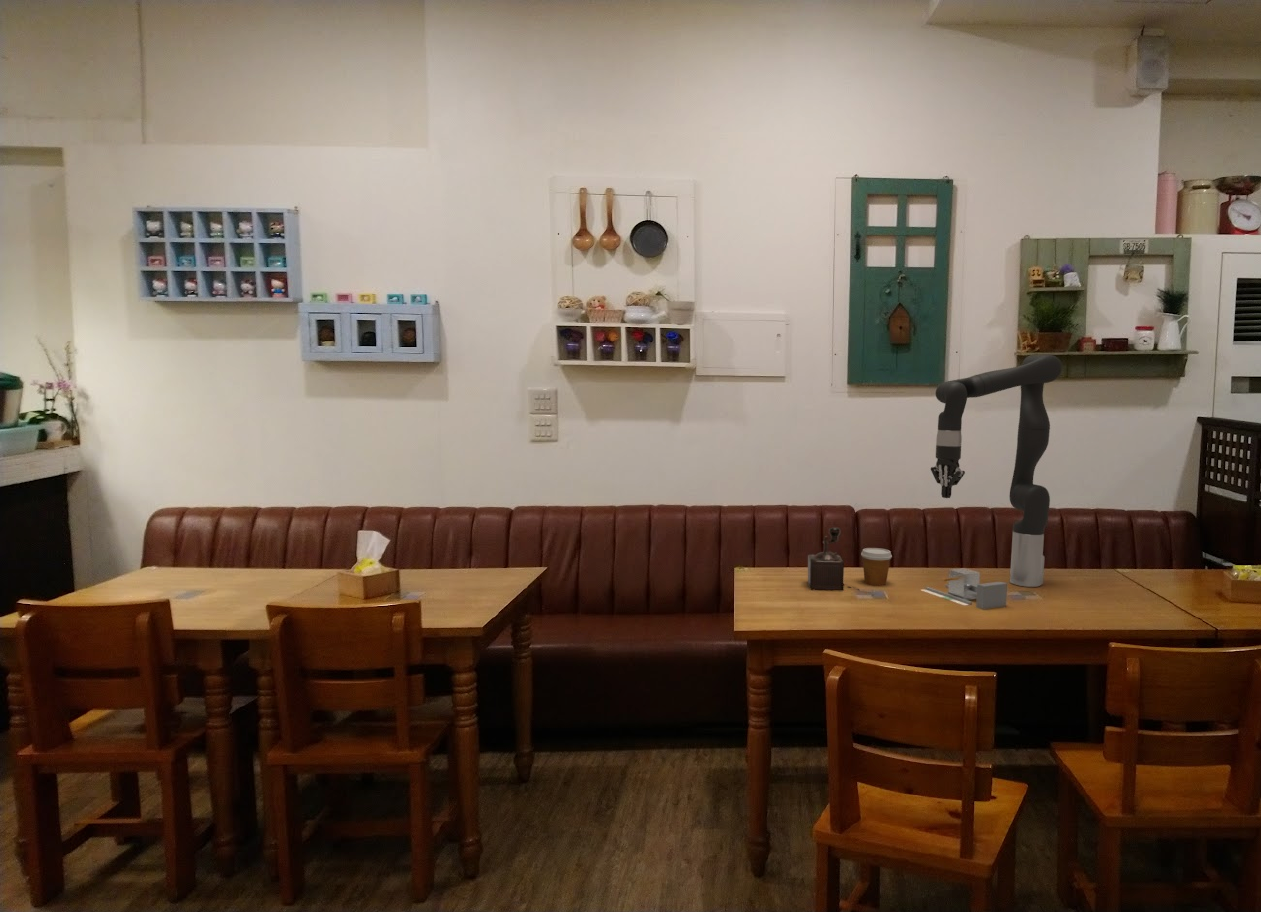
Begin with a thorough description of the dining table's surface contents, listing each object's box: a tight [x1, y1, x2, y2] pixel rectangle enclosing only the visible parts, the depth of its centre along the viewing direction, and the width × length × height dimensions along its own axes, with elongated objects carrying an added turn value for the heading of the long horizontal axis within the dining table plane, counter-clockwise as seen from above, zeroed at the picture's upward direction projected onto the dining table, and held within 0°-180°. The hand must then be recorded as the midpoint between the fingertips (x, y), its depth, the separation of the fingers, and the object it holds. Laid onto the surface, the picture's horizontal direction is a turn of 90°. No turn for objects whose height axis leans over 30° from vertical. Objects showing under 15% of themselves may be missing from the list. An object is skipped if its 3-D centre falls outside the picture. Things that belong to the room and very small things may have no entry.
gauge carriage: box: [942, 567, 981, 601], centre depth 239 cm, size 11×11×8 cm
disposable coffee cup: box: [860, 547, 893, 586], centre depth 258 cm, size 10×10×12 cm
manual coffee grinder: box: [807, 526, 845, 591], centre depth 261 cm, size 16×11×18 cm
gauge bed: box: [921, 581, 1008, 610], centre depth 242 cm, size 14×24×8 cm, turn 23°
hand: (946, 497), depth 258 cm, fingers closed
